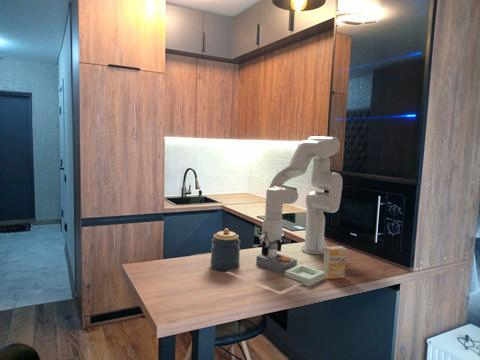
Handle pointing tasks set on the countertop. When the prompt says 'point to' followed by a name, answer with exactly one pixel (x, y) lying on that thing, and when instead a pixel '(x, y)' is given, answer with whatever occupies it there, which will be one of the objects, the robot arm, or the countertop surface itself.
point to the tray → (305, 274)
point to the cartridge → (272, 250)
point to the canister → (225, 250)
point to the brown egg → (285, 258)
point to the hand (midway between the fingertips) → (271, 252)
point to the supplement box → (334, 262)
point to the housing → (276, 263)
